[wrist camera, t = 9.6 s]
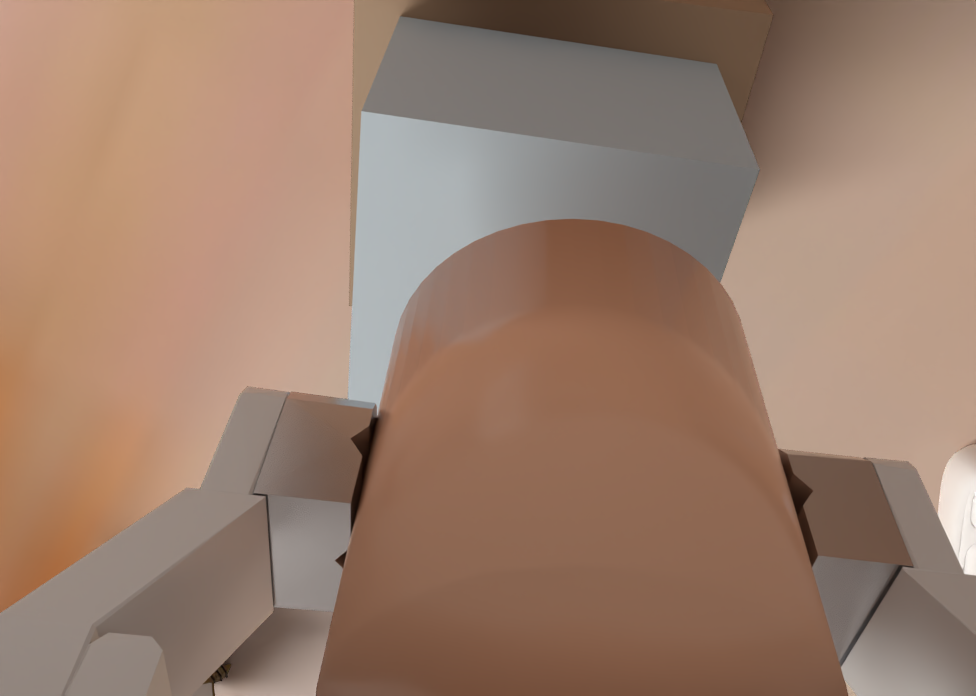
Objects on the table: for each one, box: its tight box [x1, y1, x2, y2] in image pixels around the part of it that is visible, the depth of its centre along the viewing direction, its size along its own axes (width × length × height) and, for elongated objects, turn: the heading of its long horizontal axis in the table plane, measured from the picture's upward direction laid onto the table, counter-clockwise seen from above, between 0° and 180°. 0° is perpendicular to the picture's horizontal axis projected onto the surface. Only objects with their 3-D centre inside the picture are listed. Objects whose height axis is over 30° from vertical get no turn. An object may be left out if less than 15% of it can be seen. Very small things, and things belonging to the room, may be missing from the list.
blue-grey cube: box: [348, 16, 760, 414], centre depth 15 cm, size 6×6×4 cm
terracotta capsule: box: [316, 219, 848, 696], centre depth 10 cm, size 5×5×5 cm
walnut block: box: [349, 0, 773, 306], centre depth 19 cm, size 7×7×4 cm
